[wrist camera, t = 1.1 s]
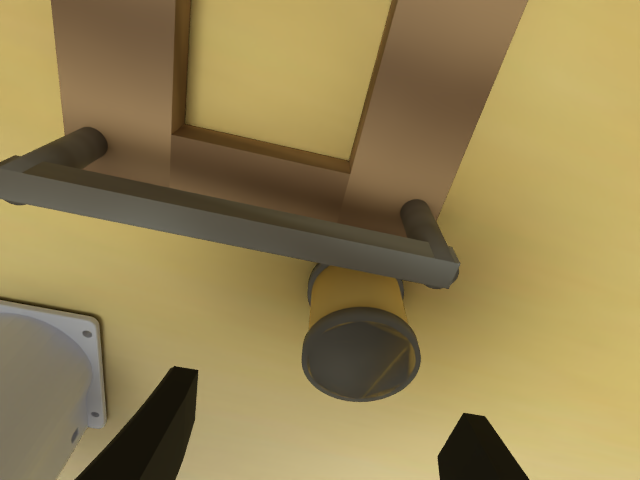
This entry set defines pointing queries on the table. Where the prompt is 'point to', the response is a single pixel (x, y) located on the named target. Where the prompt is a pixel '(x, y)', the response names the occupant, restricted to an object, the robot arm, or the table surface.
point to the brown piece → (261, 157)
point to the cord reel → (358, 335)
